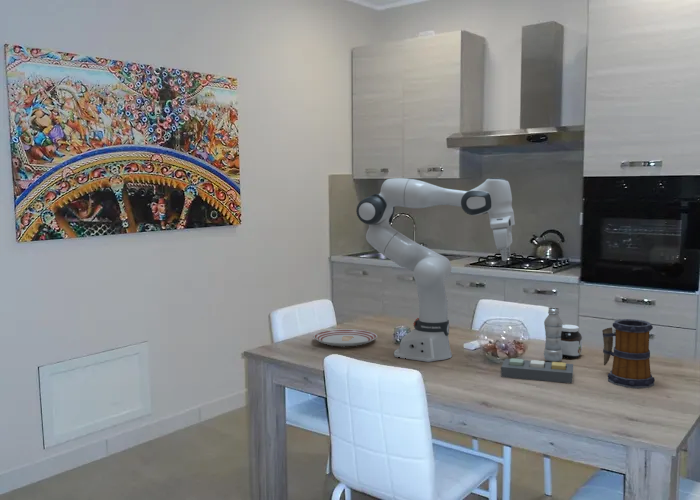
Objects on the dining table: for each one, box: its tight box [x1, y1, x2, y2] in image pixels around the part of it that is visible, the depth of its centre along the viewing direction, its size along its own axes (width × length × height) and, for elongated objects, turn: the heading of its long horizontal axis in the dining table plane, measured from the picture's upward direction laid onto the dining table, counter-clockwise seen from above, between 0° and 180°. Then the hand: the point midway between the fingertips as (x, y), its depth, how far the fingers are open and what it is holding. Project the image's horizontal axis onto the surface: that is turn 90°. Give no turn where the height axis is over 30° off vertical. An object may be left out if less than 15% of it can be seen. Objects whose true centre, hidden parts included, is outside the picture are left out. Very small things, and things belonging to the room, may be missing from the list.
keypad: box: [500, 358, 574, 384], centre depth 217 cm, size 23×11×4 cm, turn 69°
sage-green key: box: [509, 357, 525, 366], centre depth 219 cm, size 4×4×2 cm
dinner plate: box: [312, 328, 378, 348], centre depth 268 cm, size 28×27×3 cm
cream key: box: [530, 359, 546, 368], centre depth 217 cm, size 4×4×2 cm
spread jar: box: [561, 324, 583, 360], centre depth 242 cm, size 12×11×12 cm
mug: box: [602, 318, 656, 390], centre depth 210 cm, size 19×14×20 cm
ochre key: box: [552, 361, 567, 370], centre depth 214 cm, size 4×4×2 cm
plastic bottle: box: [543, 307, 564, 362], centre depth 233 cm, size 6×7×20 cm
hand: (506, 258), depth 229 cm, fingers open, 8 cm apart
